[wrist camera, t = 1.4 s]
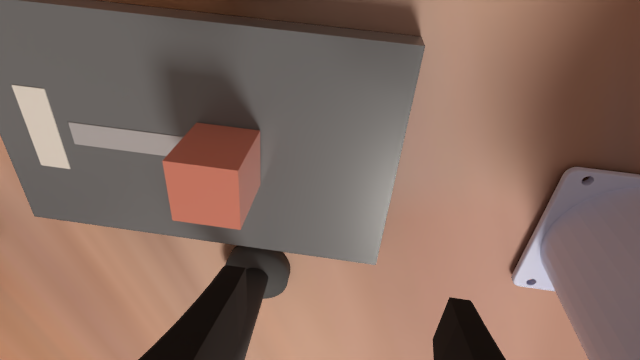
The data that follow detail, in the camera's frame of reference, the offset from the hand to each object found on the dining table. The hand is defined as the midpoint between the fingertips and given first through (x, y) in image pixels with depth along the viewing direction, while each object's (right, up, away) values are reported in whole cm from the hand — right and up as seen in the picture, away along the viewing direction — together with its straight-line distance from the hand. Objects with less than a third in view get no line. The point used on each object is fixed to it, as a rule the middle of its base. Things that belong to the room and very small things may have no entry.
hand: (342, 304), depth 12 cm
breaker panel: (-7, +6, +8) cm, 12 cm away
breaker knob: (-5, +5, +7) cm, 10 cm away
